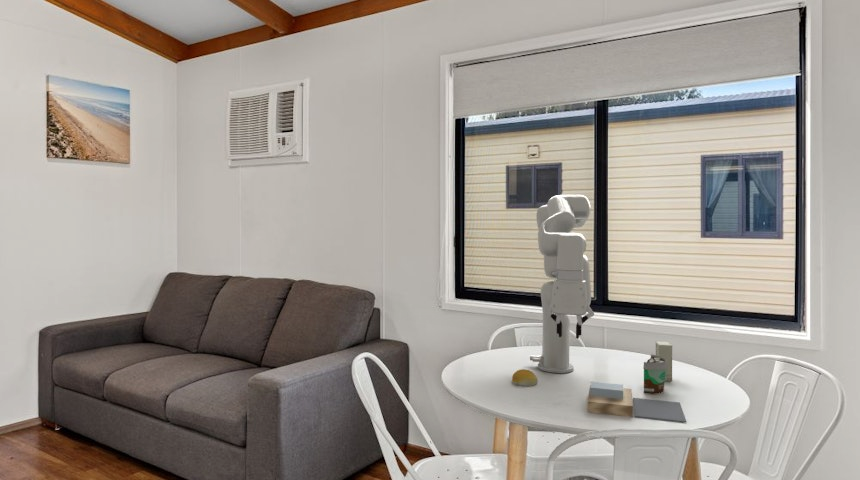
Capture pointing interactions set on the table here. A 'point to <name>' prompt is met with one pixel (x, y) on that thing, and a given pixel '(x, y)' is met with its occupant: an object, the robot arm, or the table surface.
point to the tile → (606, 390)
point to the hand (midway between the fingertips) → (568, 336)
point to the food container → (654, 374)
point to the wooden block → (612, 404)
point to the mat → (658, 410)
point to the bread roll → (524, 378)
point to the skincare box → (666, 352)
